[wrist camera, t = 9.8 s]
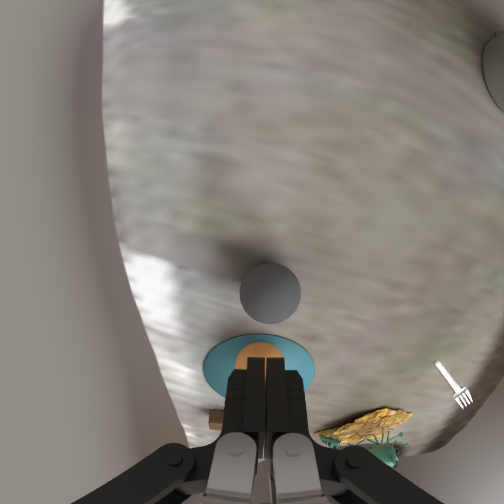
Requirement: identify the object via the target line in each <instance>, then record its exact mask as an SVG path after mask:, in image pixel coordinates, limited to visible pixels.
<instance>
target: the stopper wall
mask: <svg viewBox="0 0 504 504" xmlns="http://www.w3.org/2000/svg"><path fill="white" fill-rule="evenodd" d="M223 415H224V410H210V416H209V428H210V429H212V430H222V424H223Z"/></svg>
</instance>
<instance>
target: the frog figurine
mask: <svg viewBox="0 0 504 504" xmlns="http://www.w3.org/2000/svg"><path fill="white" fill-rule="evenodd" d="M411 415H412V414H411V413H408V414H407V413H405V412H404V411H403V410H402V409H400V410H396V411H395V410H391V409H388V408H384V409H381V410H377V411H375V412H373V413H369V414H366V415H364V416H363V417H360V418H358V419H356V420H355V421H354V423H348V424H346V425H343V426H342V427H341V428H338V427H334V428H333V429H327V430H322V431H320V432H317V433H315V434H316V435H319V436H320V437H319V438H320V439H321V440H322V441H323V443H324V442H325V443H326V445H327V444H328V445H329V448H330V445H331V447H333V448H334V449H336V448H337V447H338V446H339V444H340V443H342V442H345V443H346V442H355V441H356V442H359V443H361V442H362V441H364V440H368V441H371V442H373V443H375V444H377V445H376V446H375V447H373V448H372V447H369V448H368V449H369V450H370V452H371V453H372V454H374V455H375V456H376V457H377V458H379V459H380V460H381V461H383V462H384V463H386V464H387V465H388V466H390V467H391V468H392V466H393V465H394V464H396V465H395V466H394V467H395V468H397V466H398V456H399V450H396V452H395V449H394V448H393V447H392V446H393V445H394V444H395V442H398V441H395V442H394V443H393V444H392V446H390V445H388V443H389V440H391V439H393V438H396V437H398V436H400V437H403V433H399V435H398V436H396V437H393V438H391V439H389V432H390V431H391V430H394V429H393V428H394V427H395V425H400V423H402V422H405V421H406V420H408V419H409V417H410V416H411ZM387 432H388V437H387V442H386V443H387V444H386V443H384V444H382V441H383V438H384V434H385V433H387ZM381 435H382V441H381V443H380V444H379V442H378V440H377V438H376V437H380V436H381ZM331 436H332V437H333V436H334V437H335V438H336V437H338V438H337V439H335V438H334V439H333V438H331ZM372 438H375V439H376V441H377V443H376V442H374V441H372V440H370V439H372ZM339 440H340V442H339ZM341 440H342V441H341ZM361 440H362V441H361ZM359 443H357V444H356V445H358V444H359ZM398 443H401V442H398ZM401 444H404V443H401ZM348 445H351V446H356V445H352V444H350V443H348ZM404 445H405V447H407V446H408V443H406V444H404ZM337 450H338V449H337ZM369 450H368V451H369ZM400 454H401V453H400Z"/></svg>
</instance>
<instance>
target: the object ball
mask: <svg viewBox="0 0 504 504" xmlns="http://www.w3.org/2000/svg"><path fill="white" fill-rule="evenodd" d="M247 357H265V374H266V358H267V357H283V355H282V353H281V352H280V350H279V349H278V348H276V347H275V346H274V345H272V344H269V343H266V342H255V343H251V344H249V345H247V346H246V347H244V348H243V349H242V350H241V351H240V353H239V354H238V356H237V358H236V362H235V369H247Z"/></svg>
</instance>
